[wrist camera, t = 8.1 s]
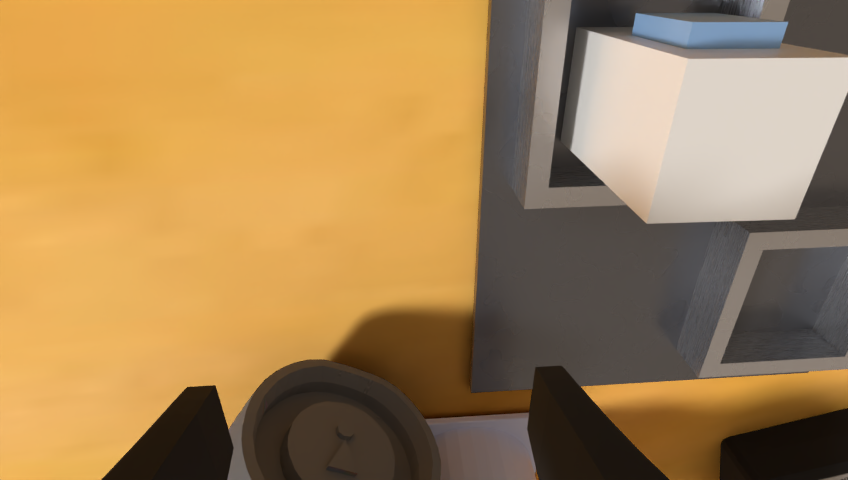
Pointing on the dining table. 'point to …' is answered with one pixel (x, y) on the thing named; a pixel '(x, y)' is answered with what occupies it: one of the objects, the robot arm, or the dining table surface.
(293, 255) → the dining table surface
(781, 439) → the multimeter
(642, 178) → the plug
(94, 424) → the dining table surface
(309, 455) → the bluetooth speaker
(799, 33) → the panel
